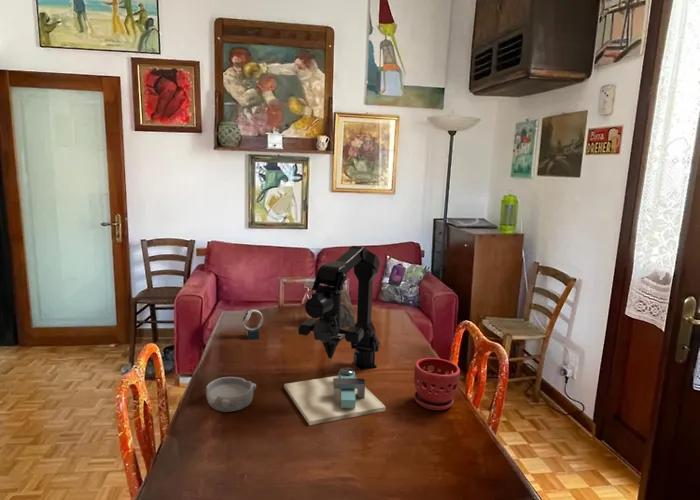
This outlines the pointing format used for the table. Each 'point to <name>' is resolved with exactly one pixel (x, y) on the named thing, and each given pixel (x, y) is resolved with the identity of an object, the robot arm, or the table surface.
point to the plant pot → (435, 383)
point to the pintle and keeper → (350, 382)
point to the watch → (252, 331)
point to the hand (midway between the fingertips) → (330, 358)
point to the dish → (229, 393)
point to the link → (347, 394)
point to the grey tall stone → (346, 310)
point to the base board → (328, 401)
